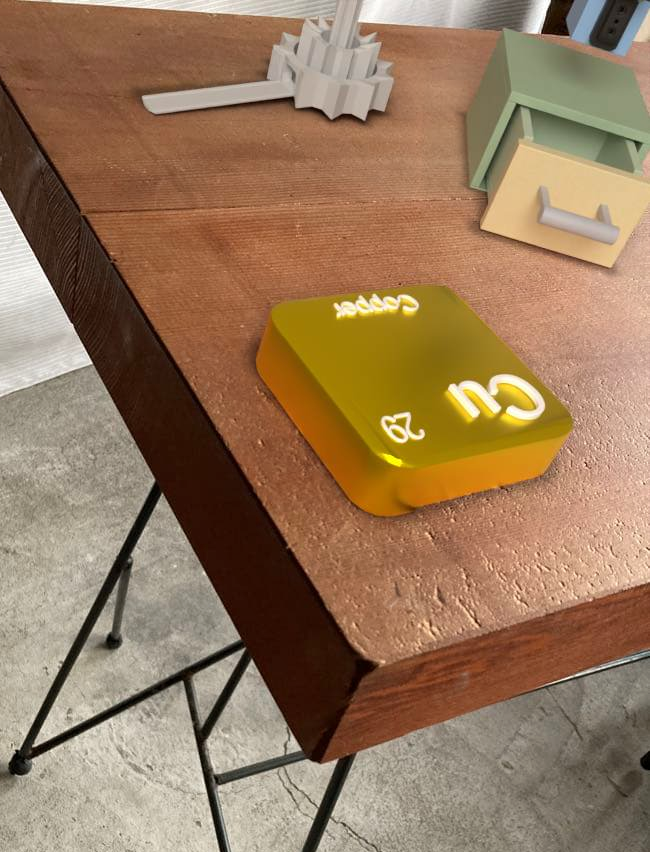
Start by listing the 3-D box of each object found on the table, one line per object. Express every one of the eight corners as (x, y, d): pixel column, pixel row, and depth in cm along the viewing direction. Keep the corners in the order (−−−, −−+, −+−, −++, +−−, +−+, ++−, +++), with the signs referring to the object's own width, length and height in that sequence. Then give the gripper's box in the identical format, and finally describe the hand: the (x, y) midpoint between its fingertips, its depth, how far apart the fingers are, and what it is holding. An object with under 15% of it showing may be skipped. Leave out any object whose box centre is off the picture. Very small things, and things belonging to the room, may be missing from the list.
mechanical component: (132, 111, 83) (153, -88, 72) (320, 59, 97) (362, -114, 86) (225, 176, 79) (263, -24, 68) (407, 111, 93) (463, -63, 82)
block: (618, 36, 80) (647, -23, 77) (624, 57, 77) (656, -4, 74) (565, 19, 80) (593, -42, 77) (570, 39, 77) (599, -23, 74)
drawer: (618, 301, 77) (669, 218, 72) (481, 260, 76) (523, 173, 71) (592, 191, 90) (634, 114, 85) (475, 155, 89) (510, 75, 84)
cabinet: (601, 234, 86) (657, 136, 80) (466, 193, 85) (511, 90, 79) (584, 160, 96) (632, 68, 90) (463, 123, 95) (503, 26, 89)
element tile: (424, 330, 69) (450, 272, 66) (556, 478, 62) (593, 421, 58) (242, 356, 62) (260, 293, 59) (365, 527, 55) (395, 466, 51)
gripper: (798, -185, 62) (652, 84, 74) (751, -224, 71) (629, 18, 84) (687, -224, 61) (559, 53, 73) (655, -258, 71) (546, -9, 83)
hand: (597, 33), depth 78 cm, fingers closed on block, 4 cm apart
